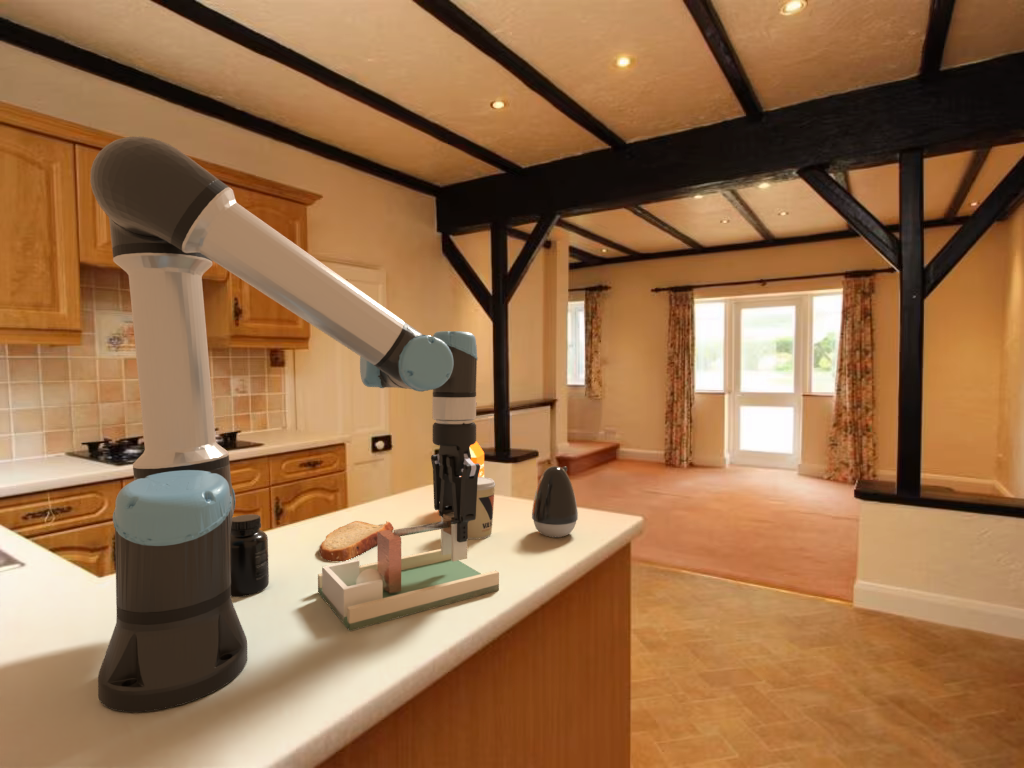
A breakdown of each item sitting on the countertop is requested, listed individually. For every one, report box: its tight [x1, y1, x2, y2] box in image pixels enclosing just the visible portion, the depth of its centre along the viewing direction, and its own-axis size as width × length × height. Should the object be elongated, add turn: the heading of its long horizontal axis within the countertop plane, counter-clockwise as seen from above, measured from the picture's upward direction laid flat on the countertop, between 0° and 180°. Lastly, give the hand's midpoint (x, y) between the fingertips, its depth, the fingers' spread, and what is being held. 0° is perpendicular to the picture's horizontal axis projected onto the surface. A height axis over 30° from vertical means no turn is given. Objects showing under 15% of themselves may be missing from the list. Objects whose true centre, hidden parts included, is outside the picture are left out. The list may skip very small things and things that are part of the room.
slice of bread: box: [319, 520, 395, 562], centre depth 115 cm, size 18×18×4 cm
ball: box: [356, 569, 382, 585], centre depth 86 cm, size 4×4×4 cm
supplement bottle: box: [231, 513, 270, 598], centre depth 90 cm, size 7×7×12 cm
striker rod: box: [376, 512, 454, 594], centre depth 91 cm, size 14×5×10 cm, turn 125°
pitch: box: [317, 548, 500, 632], centre depth 90 cm, size 25×16×5 cm, turn 125°
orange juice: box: [459, 440, 485, 477], centre depth 142 cm, size 8×9×20 cm
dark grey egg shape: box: [531, 465, 579, 538], centre depth 121 cm, size 10×10×15 cm
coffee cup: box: [467, 476, 496, 540], centre depth 121 cm, size 9×9×12 cm
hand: (453, 556), depth 94 cm, fingers closed on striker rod, 3 cm apart
